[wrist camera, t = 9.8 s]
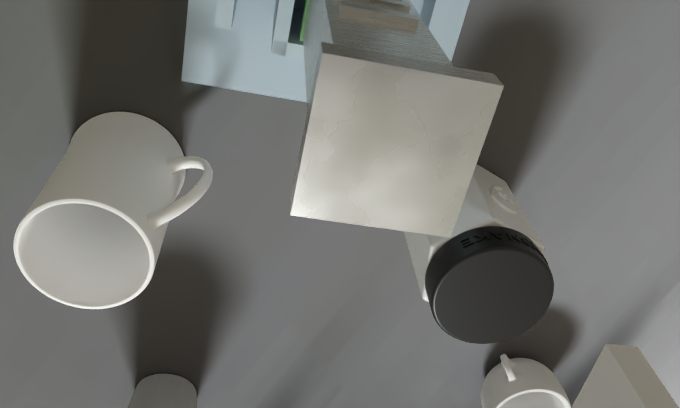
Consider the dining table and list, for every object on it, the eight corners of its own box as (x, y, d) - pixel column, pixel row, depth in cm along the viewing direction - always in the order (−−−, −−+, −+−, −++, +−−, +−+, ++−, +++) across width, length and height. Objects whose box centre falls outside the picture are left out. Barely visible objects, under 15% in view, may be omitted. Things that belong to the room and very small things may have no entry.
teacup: (560, 386, 64) (581, 430, 59) (487, 412, 65) (502, 458, 61) (533, 318, 59) (554, 361, 55) (455, 348, 60) (469, 392, 56)
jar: (527, 190, 52) (586, 282, 42) (464, 261, 55) (504, 363, 45) (440, 137, 49) (481, 223, 39) (379, 215, 52) (401, 313, 42)
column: (289, 33, 36) (290, 215, 20) (306, -64, 34) (322, 52, 17) (378, 49, 37) (450, 237, 21) (400, -44, 35) (503, 85, 18)
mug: (204, 86, 46) (179, 164, 35) (242, 187, 50) (230, 283, 40) (48, 127, 46) (-21, 215, 36) (98, 223, 51) (50, 326, 40)
